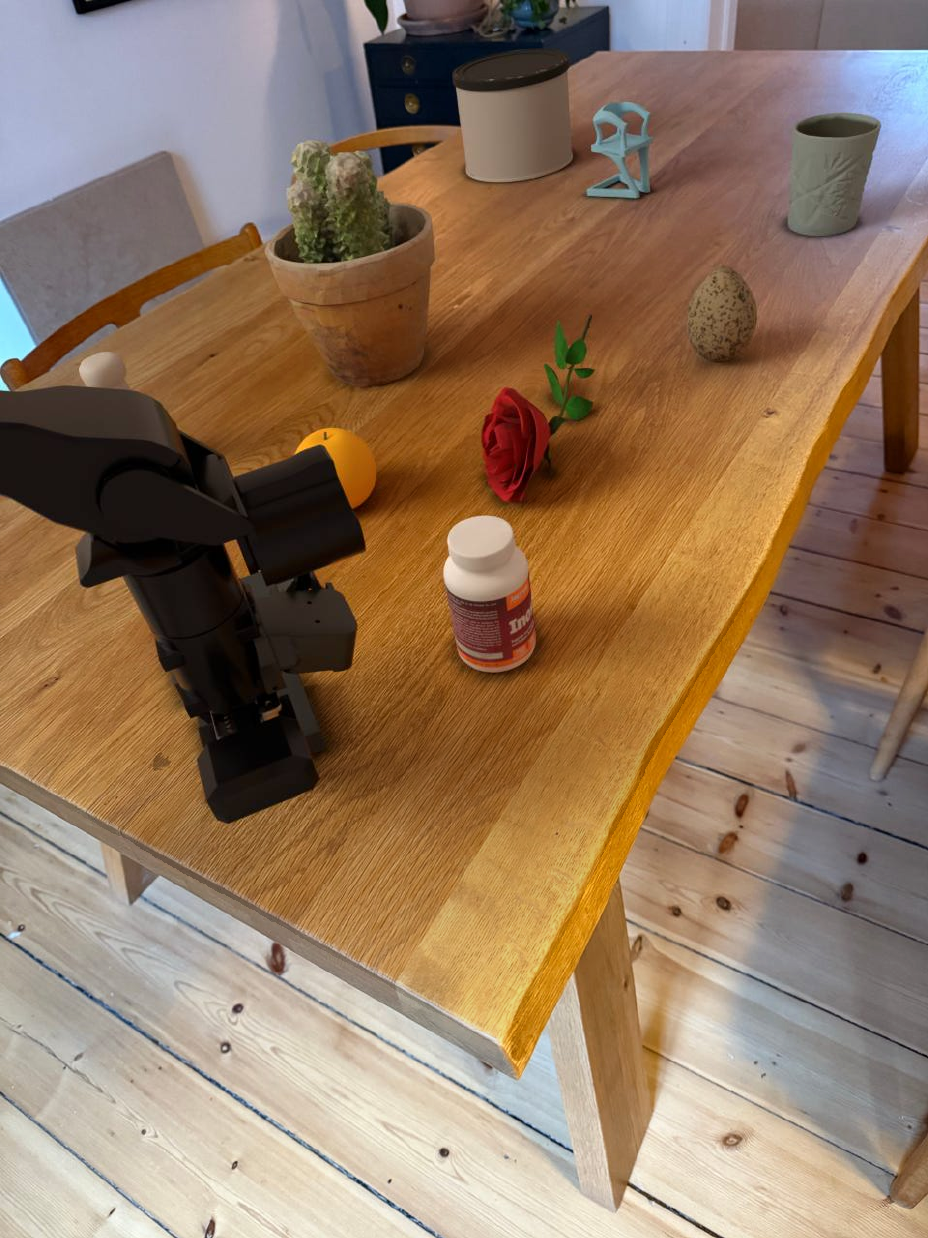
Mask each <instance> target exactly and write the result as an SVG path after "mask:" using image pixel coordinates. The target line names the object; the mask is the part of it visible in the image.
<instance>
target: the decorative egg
mask: <svg viewBox="0 0 928 1238" xmlns="http://www.w3.org/2000/svg"><path fill="white" fill-rule="evenodd" d="M688 304H689V305H688V308H687V312H686V318H685V321H686V322H685V325H686V335H687V338H688V341H689V343H690V345H691V346H692V348H693V350H694V351H695V352H696V353H697V354H698V355H700V356H701V357H702V358H704V359H706V360H708V361H714V362H725V361H728V360H731V359H734V358H735V357H737V356H738V355H740V354H741V353H743V351H744V350H745V349H746V348H747V347H748V346H749V344H750V342H751V341H752V339H753V337H754V334H755V331H756V327H757V323H758V310H757V304H756V301H755V297H754V294H753V291H752V290H751V288H750V285H749V283H748V282H747V281H746V280H745V279H744V277H743V276H742V275H741V274H740V273H739V272H738V271H737V270H735V269H734V268H733V267H731V266H728V265H727V266H726V265H723V266H722V265H721V266H719V267H717V268H716V269H714V270H713V271H712V272H711V273H709V274H708V275H707V276H706V277H705V278H704V279H703V280H702V281H701V282H700V284H699V285H698V287H697V288H696V290H695V292H694V293H693V296H692V297H691V299H690V302H689V303H688Z"/></svg>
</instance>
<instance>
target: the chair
mask: <svg viewBox="0 0 928 1238" xmlns="http://www.w3.org/2000/svg"><path fill="white" fill-rule="evenodd" d="M630 112H635V113H636V114H638V115H639V116H640V117H641V118H643V123H642V125H641V128H640V134H641V135H637V134H631V133H628V132H627V127H628V122H625V121H624V120H623V116H624V115H625V114H627V113H630ZM651 114H652V113H651V112H650V111H647V110H646V109H645V108H644V107H643V106H641V104H639V103H636V102H631V101H623V102H617V101H612V102H609V103H606V104H605V105H603V106H602V107H601V108H599V110H598V111H597V112H596V113H595V114H594V116H593V117H592V122H593V126H594V129H595V132H596V141H595V143H593V144H590V148H591V152H593V153H600V154H602V155H603V156H606V157H608V158H609V159H611V160H612V161H613V162H614V164H615V165H616V167H617V169H618V170H619V172H620V173H617V174H614V175H613V176H611V177H608V178H607V179H604V180H602V181H600V182H599V183H596V184H594V185H592V186H590V187H588V188H586V196H588V197H605V198H626V199H639V198H640V192H642V193H646V194H648V193H651V184H650V169H649V168H650V167H649V149H650V146H651V145H653V144H654V137H653V136H649V133H648V125H649V121H650V118H651ZM603 124H611V125H613V126H615V127H616V129H617V130H616V133H615V134H612V135H611V136H609V137H607V138H605V139H604V137H603V132H602V129H601V127H600V126H602V125H603ZM636 151H637V155H638V160H639V167H640V168H639V171H640V181H639V180H637V179H636V178H633V177H632V175H631V172H630V170H629V168H628V166H627V164H626V157H627V156H630V155H632V154H633V153H635V152H636ZM617 182H621V183H623V184H626V185H627V187H628V188H607V187H609V186H611V185H613V184H616V183H617Z"/></svg>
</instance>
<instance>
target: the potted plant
mask: <svg viewBox="0 0 928 1238" xmlns="http://www.w3.org/2000/svg"><path fill="white" fill-rule="evenodd" d="M290 157H291V160H290V165H291V166H294V168H293V174H294V175H295V178H296V180H295V182H294V183H293V184H292V185H291V186H290V187H285V188H286V199H287V202H288V204H287V206H286V209H287V210H288V211H289V213H290V216H291V217H292V222H291V223H288V224H287V225H285V226H283V228H281V229H280V230H278V232H277V233H276V235H275V236H274V237H272V238H271V239H270V240H269V241H268V242H267V244H266V246H265V247H264V254H265V257H266V258H267V261H268V262H269V264H270V268H271V272H272V274H273V276H274V277H275V281H276V284H277V287H278V288H279V291H280V292H281V293H282V294H283V295H284V296H285V297H286V298H287V299H288V300H289V303H290V304H291V306H292V309H293V311H294V314H295V315H296V318H297V319H298V321H299V323H300V324H301V326H302V327H303V330H304V331H305V332H306V334H307V336H308V337H309V339H310V341H311V343H312V344H313V345H314V348H316V350H317V351H318V353H319V355H320V356H321V358H322V359H323V361H324V363H325V364H326V366H327V369H328V371H329V372H330V374H331V375H332V376H333V377H334V379H335V380H337V381H338V382H341V383H342V384H344V385H345V384H346V385H349V386H352V387H353V386H354V387H359V388H367V387H368V388H369V387H376V386H382V385H385V384H390V383H394V382H396V381H398V380H400V379H403V378H405V377H407V376H408V375H410V374H411V373H413V371H414V370H416V369H417V368H418V367H419V366H420V364H421V362H422V360H423V357H424V355H425V348H426V347H425V346H426V340H427V332H428V320H429V308H430V307H429V306H430V293H431V292H430V290H431V272H432V271H431V270H432V269H431V268H432V266H433V264H434V263H435V261H436V255H435V235H434V226H433V218H432V215H431V213H430V212H428V210H426V209H424V208H422V207H420V206H417V205H415V204H412V203H411V204H410V203H405V202H395V201H394V202H392V201H388V198H387V197H385V195H384V194H385V192H384V190H382V191H381V190H378V188H377V187H378V186H377V185H378V178H377V175H376V173H375V172H374V170H373V166H374V163H373V162H372V155H370V154H369V153H368V152H367V151H363V150H356V151H354V152H353V151H348V150H347V151H345V152H344V151H343V152H341V151H339V152H338V153H333V152H332V149H331V148H330V146H329V145H328V143H327V142H326V141H325V142H324V141H322V140H320V139H319V140H311V139H308V140H305V141H302V142H299V143H298V144H297V146H296V147H294V150H293V151H292V152H291V153H290Z"/></svg>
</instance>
